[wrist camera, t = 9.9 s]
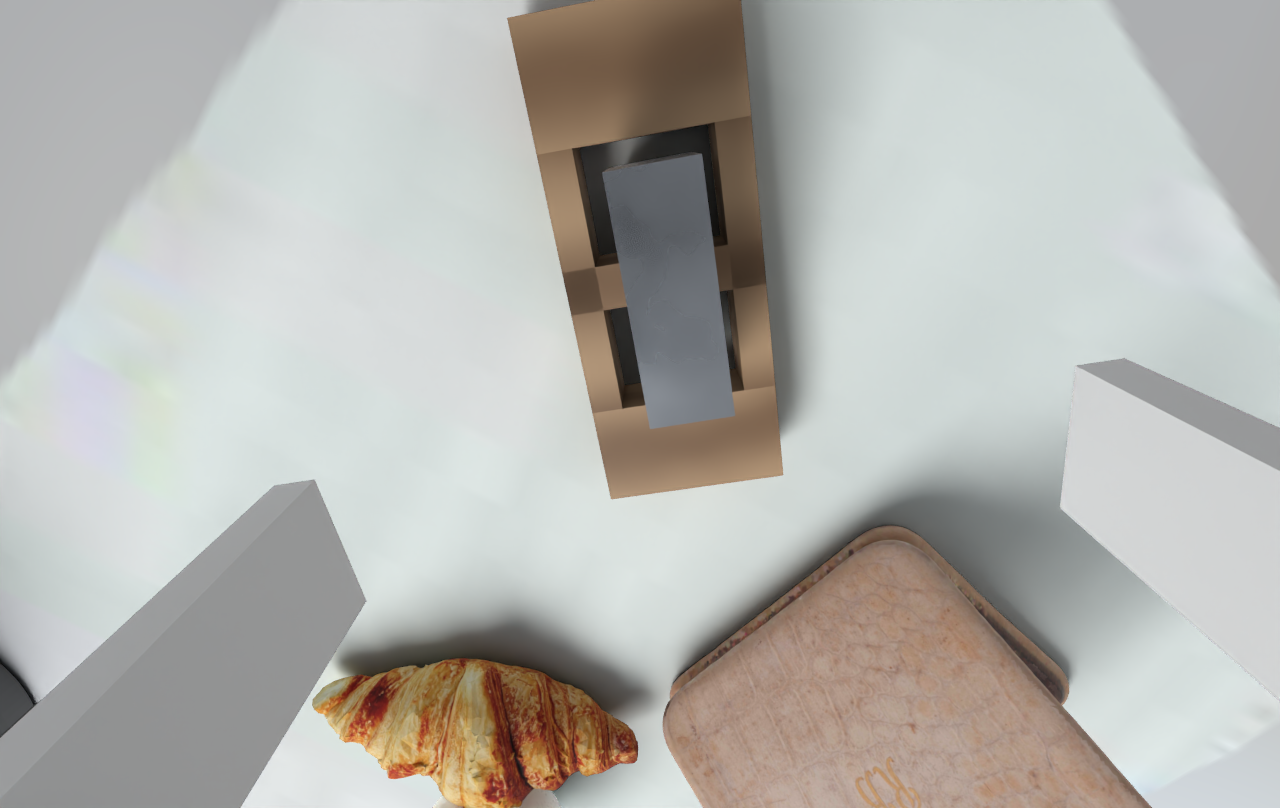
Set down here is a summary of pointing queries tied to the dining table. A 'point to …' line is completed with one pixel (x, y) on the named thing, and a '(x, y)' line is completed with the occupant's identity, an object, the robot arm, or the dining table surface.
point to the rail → (562, 124)
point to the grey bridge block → (671, 287)
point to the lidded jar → (537, 804)
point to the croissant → (477, 728)
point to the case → (884, 699)
